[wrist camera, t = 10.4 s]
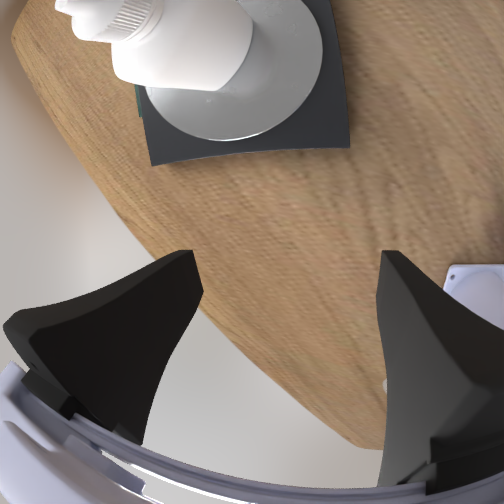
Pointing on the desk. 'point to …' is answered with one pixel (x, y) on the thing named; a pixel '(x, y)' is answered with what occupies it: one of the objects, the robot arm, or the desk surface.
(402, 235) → the desk surface
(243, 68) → the scale pan
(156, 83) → the eye dropper bottle
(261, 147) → the scale
